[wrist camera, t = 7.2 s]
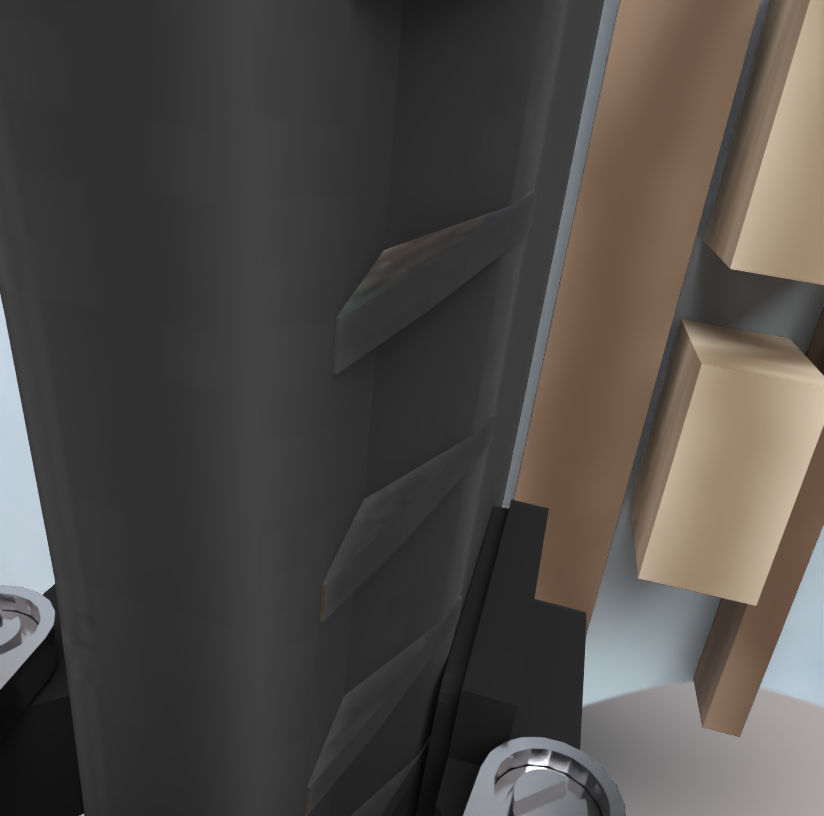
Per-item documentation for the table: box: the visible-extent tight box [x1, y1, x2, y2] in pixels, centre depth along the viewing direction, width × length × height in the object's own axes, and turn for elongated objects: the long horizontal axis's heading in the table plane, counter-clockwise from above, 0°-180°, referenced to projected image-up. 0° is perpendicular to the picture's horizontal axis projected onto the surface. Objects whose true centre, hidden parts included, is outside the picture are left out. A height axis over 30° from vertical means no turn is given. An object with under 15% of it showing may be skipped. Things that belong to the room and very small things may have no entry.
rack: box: [514, 0, 824, 737], centre depth 28 cm, size 18×32×3 cm, turn 172°
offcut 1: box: [703, 0, 824, 285], centre depth 24 cm, size 4×8×6 cm, turn 172°
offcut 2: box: [630, 319, 824, 606], centre depth 28 cm, size 4×8×6 cm, turn 172°
